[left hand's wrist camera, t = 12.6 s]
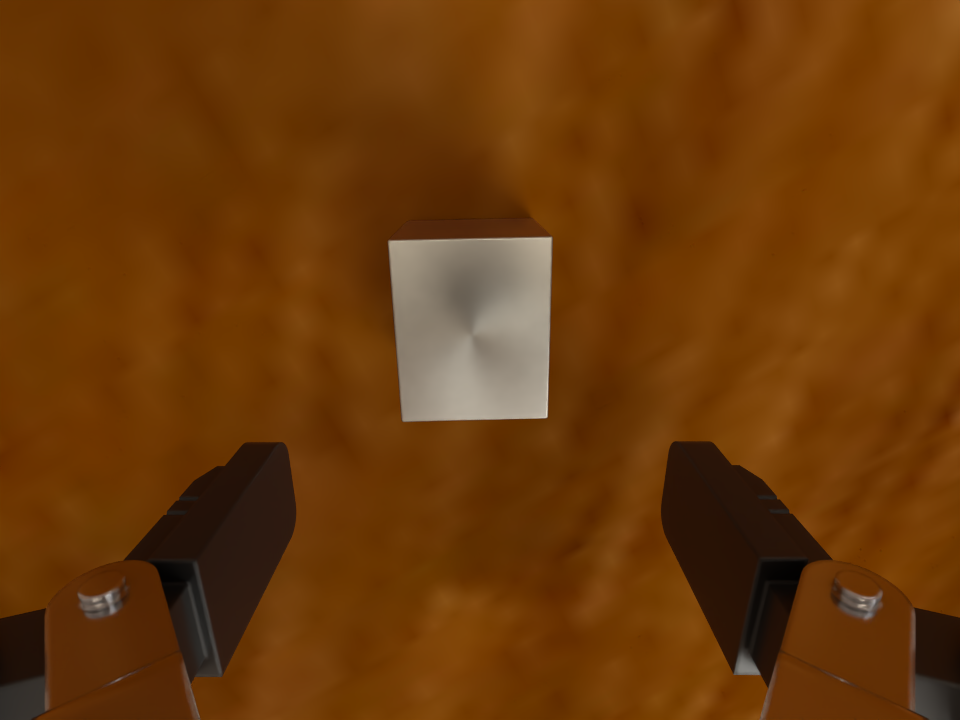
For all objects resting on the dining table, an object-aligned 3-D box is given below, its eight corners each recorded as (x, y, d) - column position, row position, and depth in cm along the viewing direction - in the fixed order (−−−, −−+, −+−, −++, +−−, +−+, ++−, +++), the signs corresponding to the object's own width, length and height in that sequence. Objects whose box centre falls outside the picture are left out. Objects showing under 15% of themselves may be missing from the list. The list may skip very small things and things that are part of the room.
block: (416, 364, 19) (401, 422, 15) (407, 220, 17) (387, 239, 13) (530, 361, 19) (548, 418, 15) (533, 217, 17) (553, 236, 13)
